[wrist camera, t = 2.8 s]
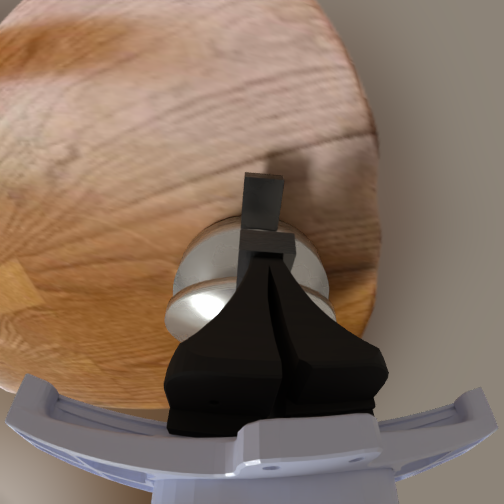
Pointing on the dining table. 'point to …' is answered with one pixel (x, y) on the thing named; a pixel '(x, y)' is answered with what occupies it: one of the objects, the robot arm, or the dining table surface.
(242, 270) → the lid
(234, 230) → the pot
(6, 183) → the dining table surface
